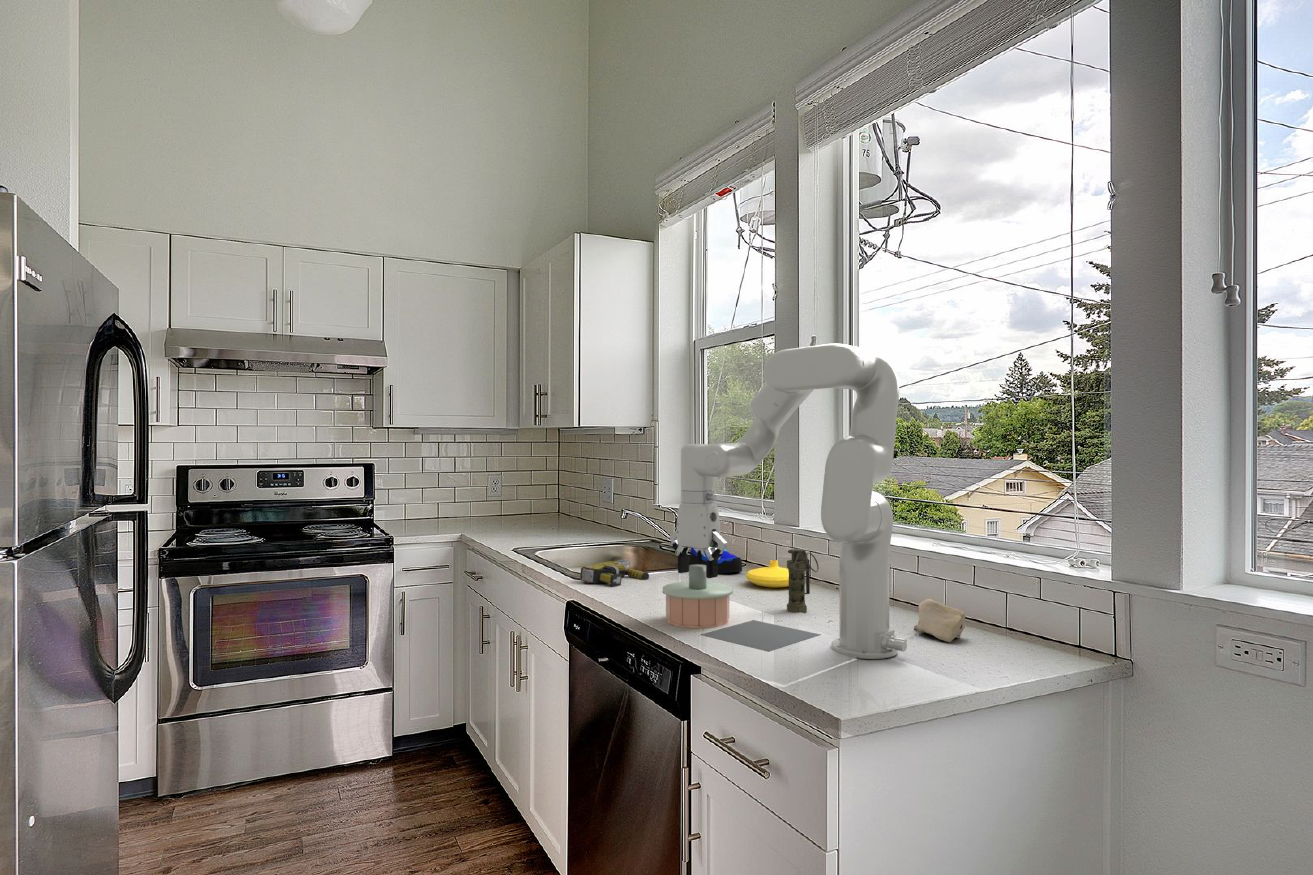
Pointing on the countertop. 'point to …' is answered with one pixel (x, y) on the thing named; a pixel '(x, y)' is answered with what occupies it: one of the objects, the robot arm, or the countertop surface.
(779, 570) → the vase
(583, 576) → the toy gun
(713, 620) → the bowl
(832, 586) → the countertop surface
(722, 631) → the mat
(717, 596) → the lid
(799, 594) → the grenade
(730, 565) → the sneaker
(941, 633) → the decorative stone
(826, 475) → the robot arm
